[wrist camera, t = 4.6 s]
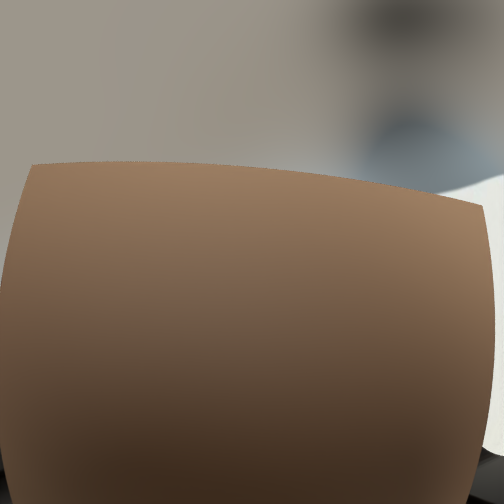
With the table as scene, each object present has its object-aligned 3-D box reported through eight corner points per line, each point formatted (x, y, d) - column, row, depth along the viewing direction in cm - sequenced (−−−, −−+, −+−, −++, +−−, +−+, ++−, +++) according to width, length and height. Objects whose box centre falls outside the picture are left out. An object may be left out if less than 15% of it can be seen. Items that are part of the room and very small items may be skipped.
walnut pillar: (282, 407, 14) (429, 580, 1) (181, 400, 14) (36, 566, 1) (288, 310, 15) (482, 205, 3) (189, 302, 15) (32, 165, 3)
